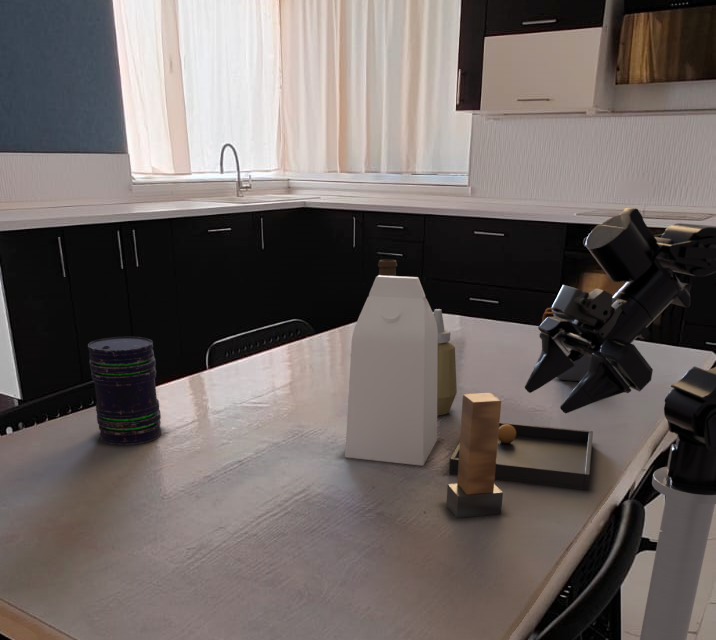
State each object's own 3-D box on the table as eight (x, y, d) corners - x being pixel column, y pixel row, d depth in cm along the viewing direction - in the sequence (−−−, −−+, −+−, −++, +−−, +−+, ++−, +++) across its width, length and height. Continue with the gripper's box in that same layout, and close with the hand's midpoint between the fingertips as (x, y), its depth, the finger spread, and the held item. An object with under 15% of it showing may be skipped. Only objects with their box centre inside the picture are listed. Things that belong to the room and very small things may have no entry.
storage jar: (132, 421, 131) (122, 334, 125) (175, 431, 126) (166, 341, 120) (86, 438, 123) (72, 345, 117) (130, 449, 119) (118, 353, 113)
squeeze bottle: (419, 419, 133) (423, 315, 126) (404, 406, 140) (407, 306, 133) (462, 416, 135) (469, 313, 128) (445, 403, 142) (451, 304, 135)
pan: (591, 444, 122) (592, 431, 121) (587, 490, 105) (589, 474, 104) (470, 432, 127) (471, 419, 126) (449, 473, 110) (449, 458, 109)
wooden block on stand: (489, 501, 102) (498, 391, 96) (501, 514, 98) (511, 400, 92) (446, 505, 100) (452, 394, 94) (456, 518, 97) (464, 403, 91)
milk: (436, 440, 123) (445, 273, 113) (423, 465, 113) (431, 284, 103) (364, 433, 126) (367, 270, 116) (344, 457, 116) (345, 280, 106)
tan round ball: (515, 425, 118) (518, 444, 119) (514, 420, 121) (516, 438, 122) (495, 429, 119) (498, 447, 120) (495, 423, 122) (498, 441, 123)
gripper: (559, 253, 100) (475, 342, 102) (646, 272, 84) (544, 377, 85) (604, 311, 105) (523, 395, 107) (694, 340, 89) (597, 438, 90)
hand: (544, 400), depth 97 cm, fingers open, 9 cm apart
